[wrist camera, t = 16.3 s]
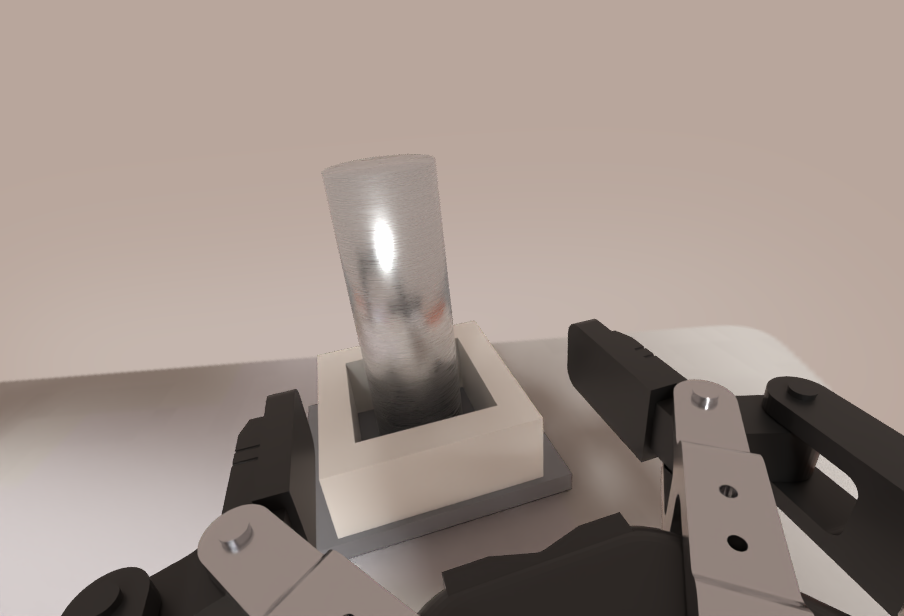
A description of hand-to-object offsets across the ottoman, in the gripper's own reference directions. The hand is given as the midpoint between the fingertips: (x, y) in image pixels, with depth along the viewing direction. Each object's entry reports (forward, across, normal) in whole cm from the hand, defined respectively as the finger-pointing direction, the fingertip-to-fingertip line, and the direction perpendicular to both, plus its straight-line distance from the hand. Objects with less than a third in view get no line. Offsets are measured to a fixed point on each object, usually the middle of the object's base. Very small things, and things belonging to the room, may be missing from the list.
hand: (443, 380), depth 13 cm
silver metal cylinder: (+8, 0, +9) cm, 12 cm away
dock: (+8, 0, +10) cm, 13 cm away
